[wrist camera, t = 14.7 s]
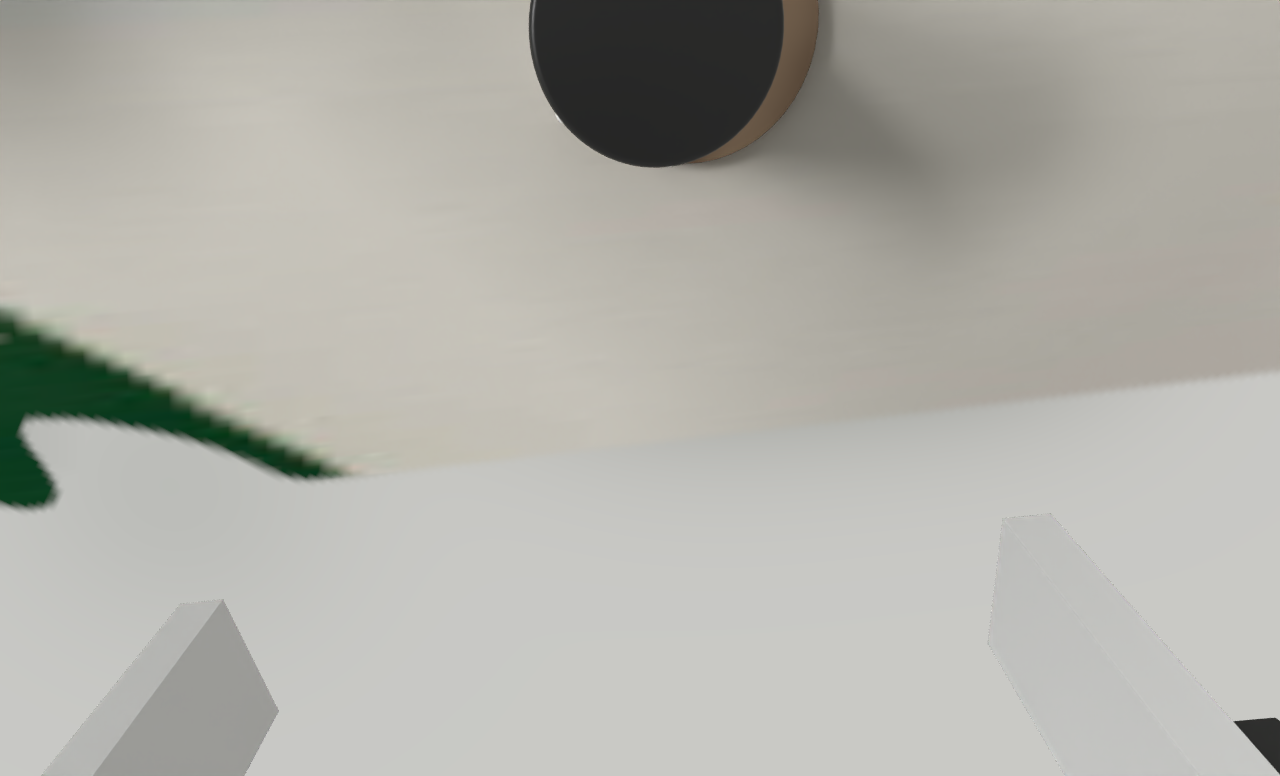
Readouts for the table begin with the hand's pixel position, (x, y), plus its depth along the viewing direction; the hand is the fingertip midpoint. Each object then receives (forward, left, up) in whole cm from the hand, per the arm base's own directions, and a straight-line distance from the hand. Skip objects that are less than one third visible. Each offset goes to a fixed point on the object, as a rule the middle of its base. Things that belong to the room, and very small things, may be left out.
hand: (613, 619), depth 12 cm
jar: (+2, +9, -28) cm, 29 cm away
